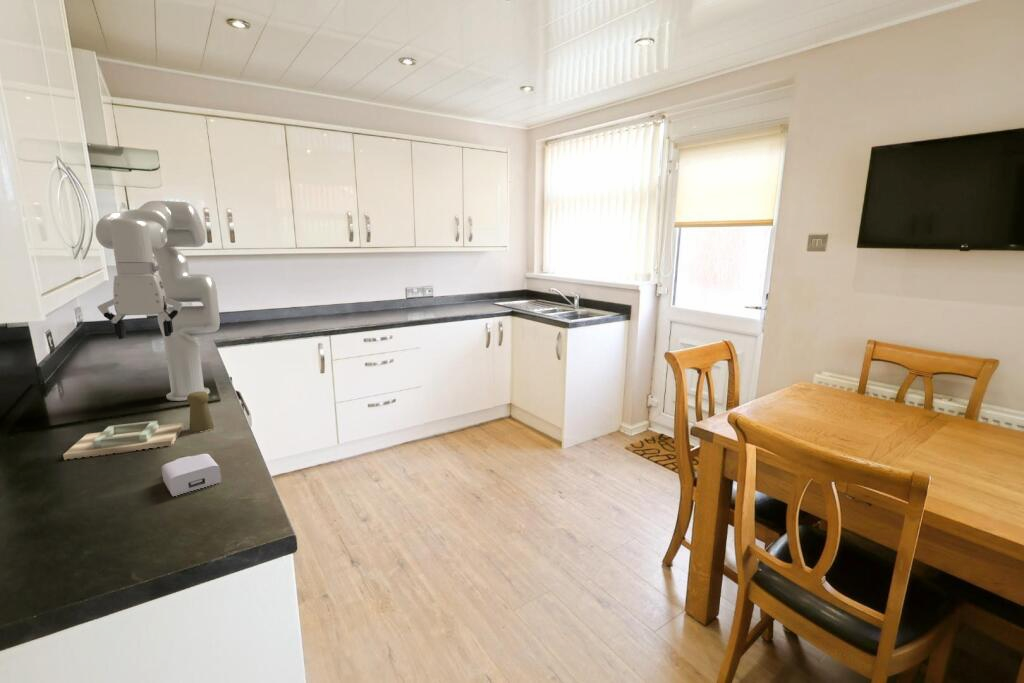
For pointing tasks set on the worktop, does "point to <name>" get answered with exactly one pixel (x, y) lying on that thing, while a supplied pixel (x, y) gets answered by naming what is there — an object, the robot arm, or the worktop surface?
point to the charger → (190, 473)
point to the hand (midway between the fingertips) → (145, 336)
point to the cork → (199, 412)
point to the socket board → (125, 439)
